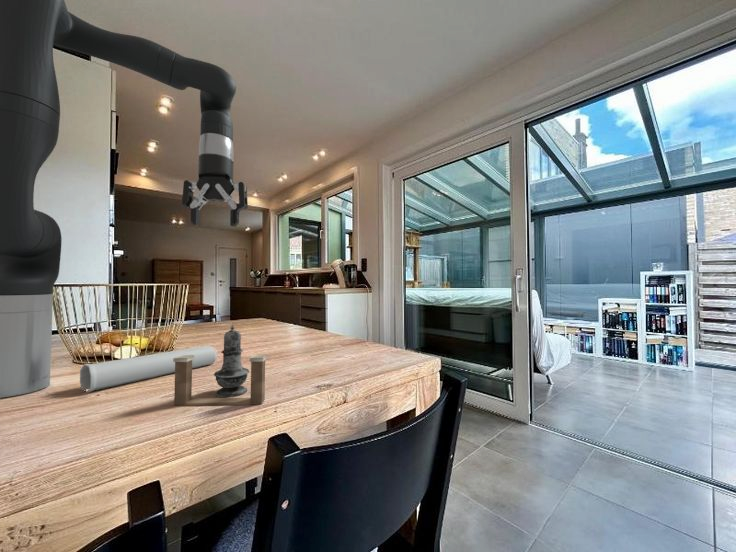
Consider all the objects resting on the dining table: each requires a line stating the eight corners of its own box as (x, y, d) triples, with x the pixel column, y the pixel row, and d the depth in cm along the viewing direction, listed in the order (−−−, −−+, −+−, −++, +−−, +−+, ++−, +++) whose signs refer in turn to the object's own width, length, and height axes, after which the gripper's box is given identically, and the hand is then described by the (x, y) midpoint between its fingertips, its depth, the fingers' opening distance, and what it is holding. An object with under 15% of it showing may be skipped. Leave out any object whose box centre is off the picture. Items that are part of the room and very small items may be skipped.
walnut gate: (172, 405, 51) (173, 358, 51) (179, 400, 53) (180, 355, 53) (262, 404, 51) (263, 357, 52) (266, 399, 54) (266, 354, 54)
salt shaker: (242, 384, 61) (243, 322, 62) (253, 392, 57) (254, 326, 57) (209, 391, 58) (211, 325, 58) (218, 400, 53) (219, 328, 53)
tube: (207, 345, 80) (78, 366, 58) (219, 341, 77) (89, 361, 56) (210, 366, 79) (80, 396, 57) (223, 362, 76) (92, 391, 55)
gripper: (177, 150, 71) (175, 222, 71) (241, 153, 72) (240, 223, 72) (193, 163, 79) (192, 228, 78) (251, 165, 80) (250, 229, 79)
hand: (215, 226), depth 75 cm, fingers open, 8 cm apart
